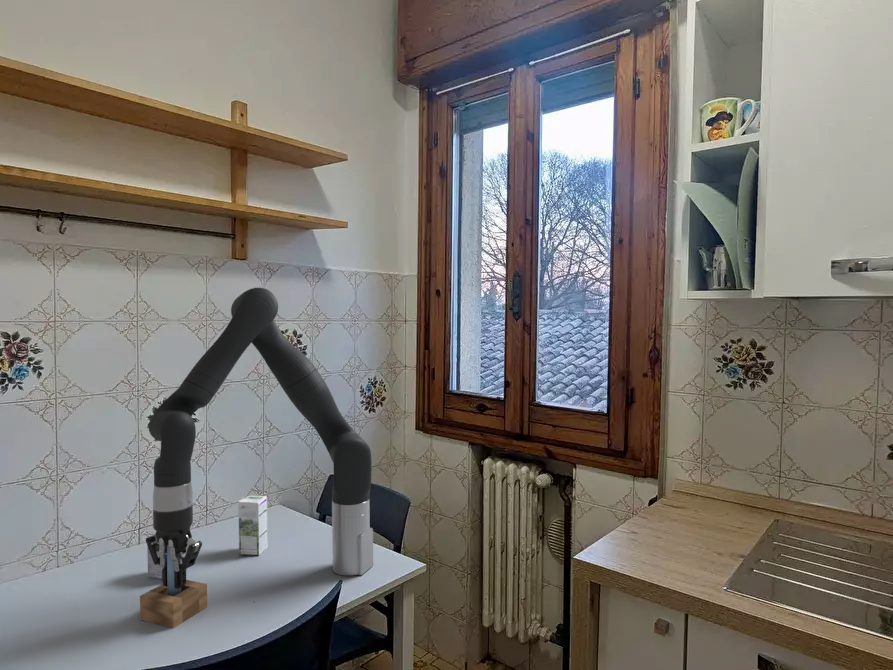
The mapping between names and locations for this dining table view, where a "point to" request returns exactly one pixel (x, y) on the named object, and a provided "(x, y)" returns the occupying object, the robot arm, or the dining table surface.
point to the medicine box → (154, 567)
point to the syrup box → (252, 525)
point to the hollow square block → (173, 604)
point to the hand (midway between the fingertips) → (174, 585)
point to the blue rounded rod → (171, 575)
